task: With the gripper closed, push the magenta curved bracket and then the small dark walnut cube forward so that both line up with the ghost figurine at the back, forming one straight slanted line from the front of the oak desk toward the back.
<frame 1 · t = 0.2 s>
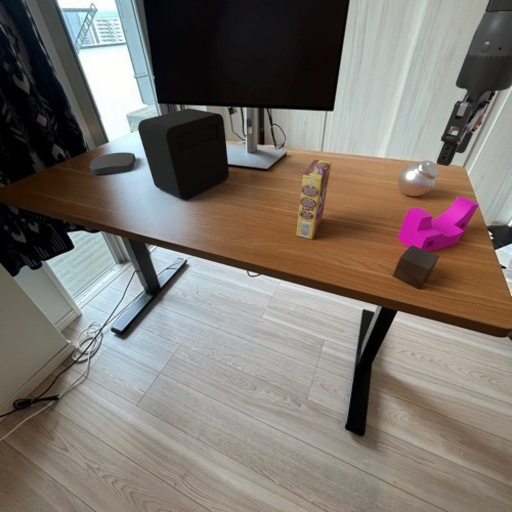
hand: (450, 158, 51), 17 cm above the table, tool pointing down, fingers open, 8 cm apart
walnut cube: (410, 276, 52), on the table
media streaming box: (115, 167, 101), on the table
magenta curved bracket: (434, 239, 61), on the table
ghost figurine: (411, 195, 76), on the table
air purifier: (192, 184, 87), on the table
candy box: (309, 229, 66), on the table
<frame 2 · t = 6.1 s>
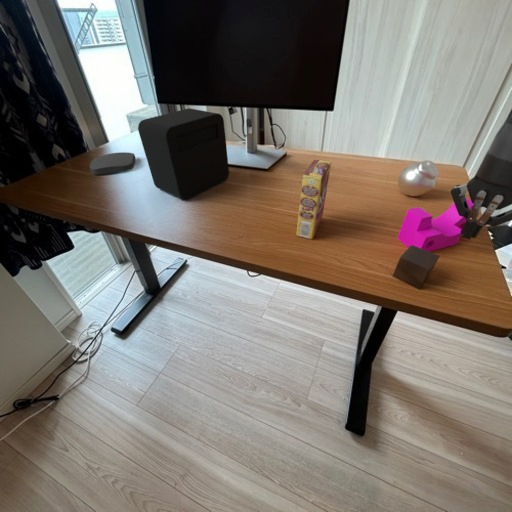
hand: (467, 236, 56), 3 cm above the table, tool pointing down, fingers closed
magenta curved bracket: (434, 239, 61), on the table, touching gripper
everything else where it was.
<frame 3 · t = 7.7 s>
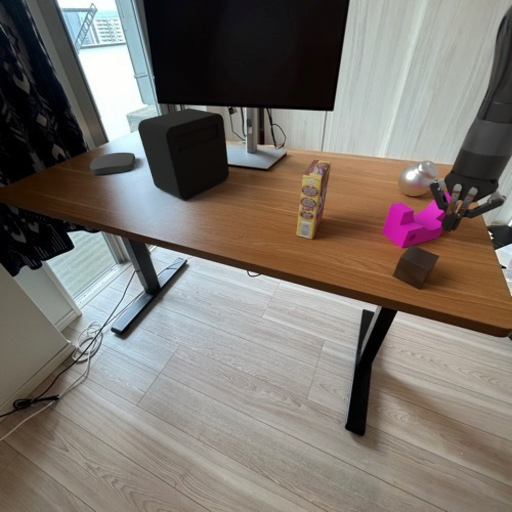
hand: (447, 229, 58), 3 cm above the table, tool pointing down, fingers closed
magenta curved bracket: (417, 233, 63), on the table, touching gripper
everything else where it was.
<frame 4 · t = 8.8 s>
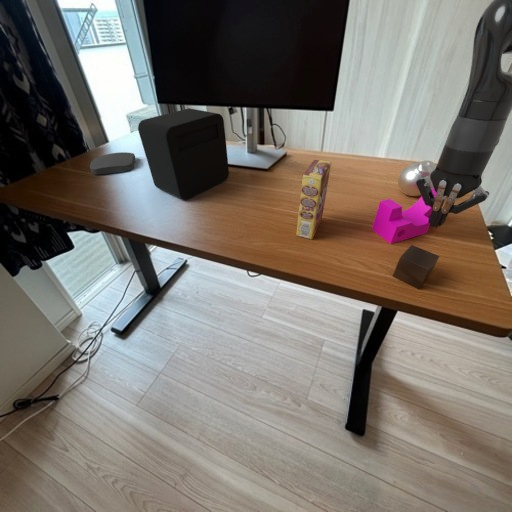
hand: (434, 225, 59), 3 cm above the table, tool pointing down, fingers closed
magenta curved bracket: (406, 229, 64), on the table, touching gripper
everything else where it was.
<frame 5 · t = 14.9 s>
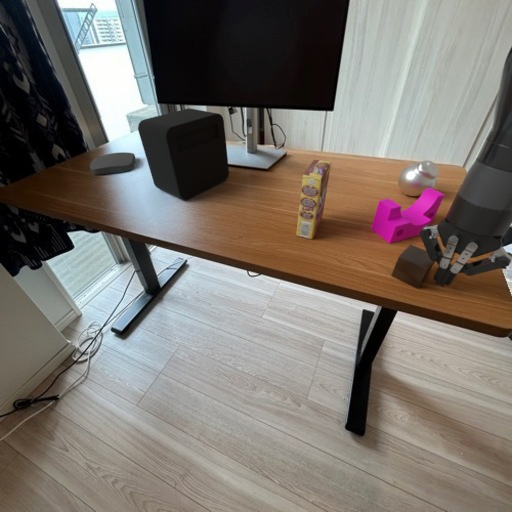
hand: (441, 282, 48), 2 cm above the table, tool pointing down, fingers closed
walnut cube: (409, 275, 52), on the table, touching gripper
magenta curved bracket: (405, 229, 64), on the table
everything else where it was.
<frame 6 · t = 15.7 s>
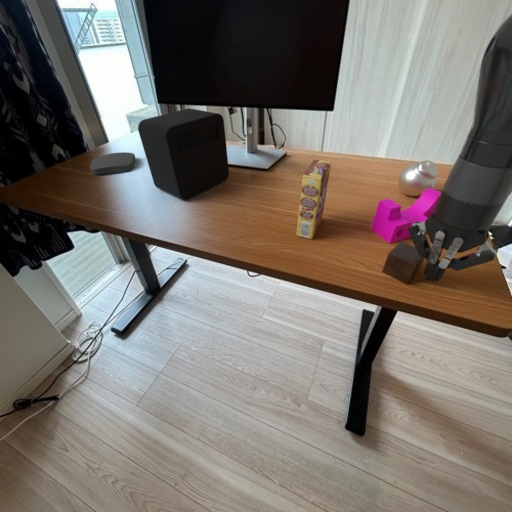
hand: (430, 278, 49), 2 cm above the table, tool pointing down, fingers closed
walnut cube: (400, 271, 53), on the table, touching gripper
everything else where it was.
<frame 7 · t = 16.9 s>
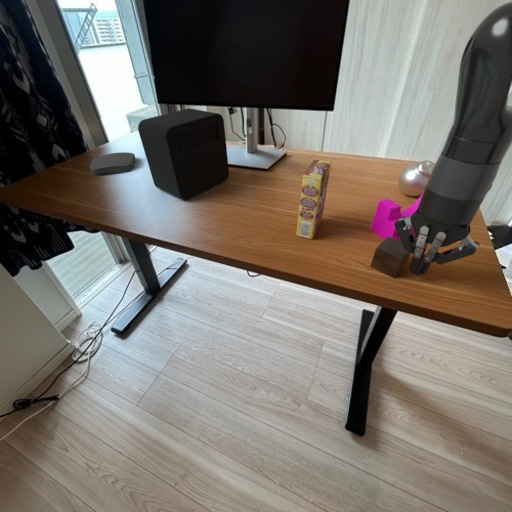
hand: (416, 272, 50), 2 cm above the table, tool pointing down, fingers closed
walnut cube: (387, 266, 54), on the table, touching gripper
everything else where it was.
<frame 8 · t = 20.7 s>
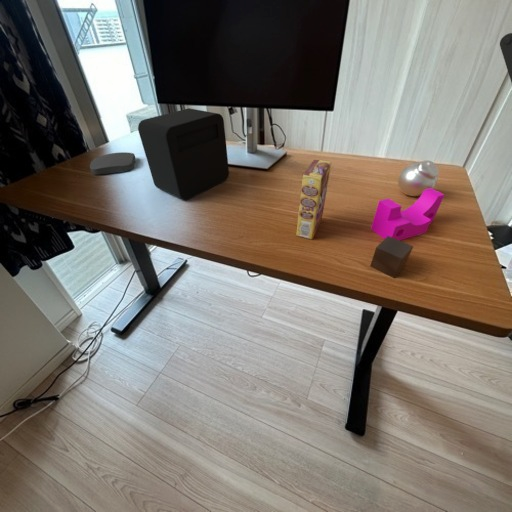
walnut cube: (387, 265, 54), on the table
everything else where it was.
at the end: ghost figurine 0.0 cm from the target spot, on the table; magenta curved bracket 0.9 cm from the target spot, on the table; walnut cube 0.3 cm from the target spot, on the table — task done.
